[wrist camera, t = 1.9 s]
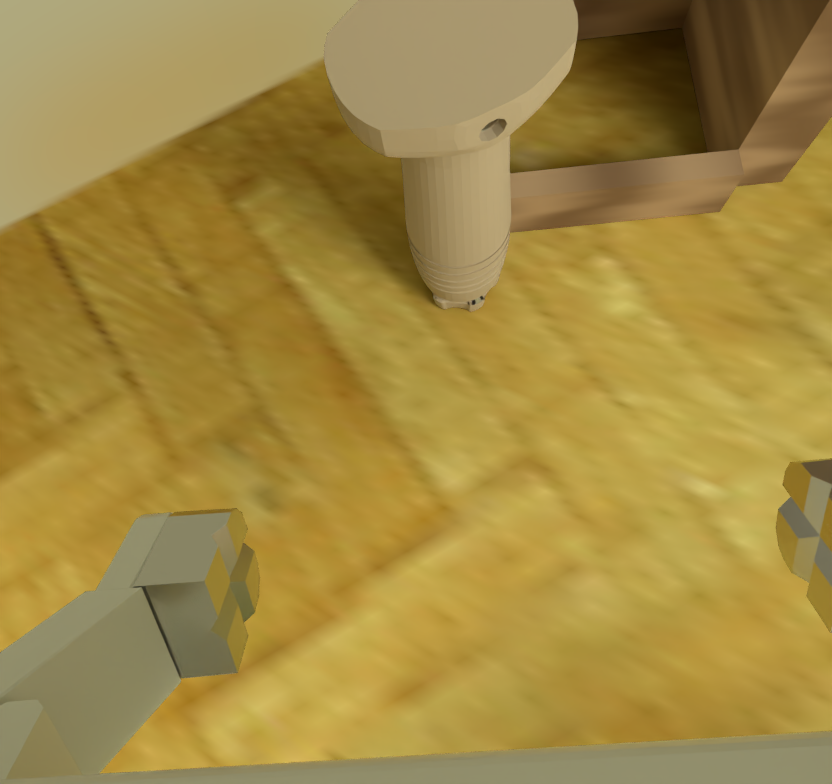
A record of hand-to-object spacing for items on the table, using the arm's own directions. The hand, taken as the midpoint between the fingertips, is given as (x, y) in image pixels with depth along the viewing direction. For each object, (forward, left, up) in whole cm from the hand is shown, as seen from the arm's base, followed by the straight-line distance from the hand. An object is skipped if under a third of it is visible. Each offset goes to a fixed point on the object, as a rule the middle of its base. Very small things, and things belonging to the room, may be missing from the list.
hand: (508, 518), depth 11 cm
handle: (0, +12, -19) cm, 22 cm away
